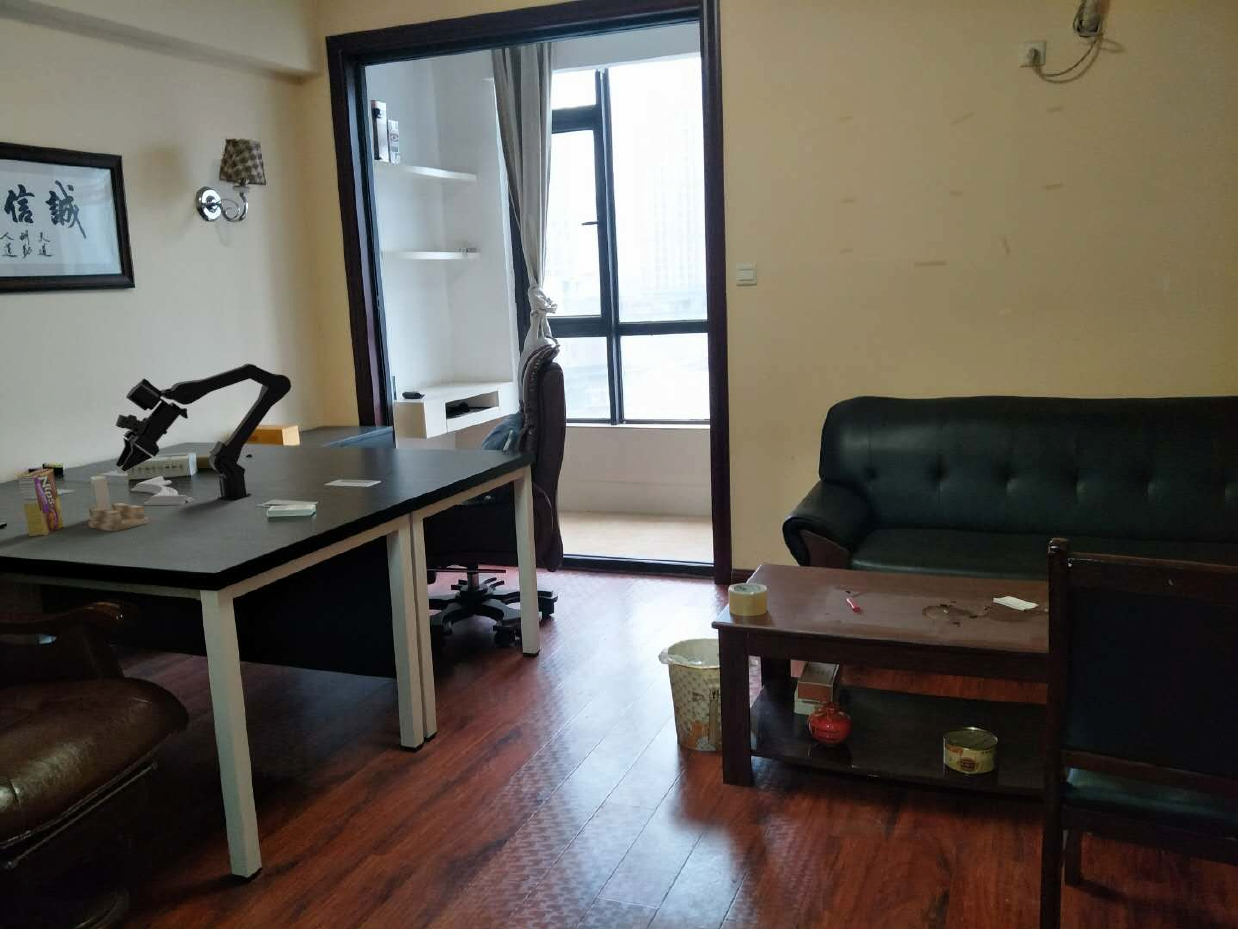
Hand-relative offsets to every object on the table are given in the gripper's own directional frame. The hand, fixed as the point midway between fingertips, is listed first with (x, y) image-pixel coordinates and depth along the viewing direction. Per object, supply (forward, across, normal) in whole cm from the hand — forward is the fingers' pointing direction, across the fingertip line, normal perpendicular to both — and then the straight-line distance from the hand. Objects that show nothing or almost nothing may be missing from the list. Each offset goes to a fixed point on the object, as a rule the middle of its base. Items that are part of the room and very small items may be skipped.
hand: (120, 468), depth 265 cm
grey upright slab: (+13, 0, +5) cm, 14 cm away
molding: (-1, -23, +20) cm, 30 cm away
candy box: (+23, +5, -4) cm, 24 cm away
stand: (+12, +12, +6) cm, 18 cm away
